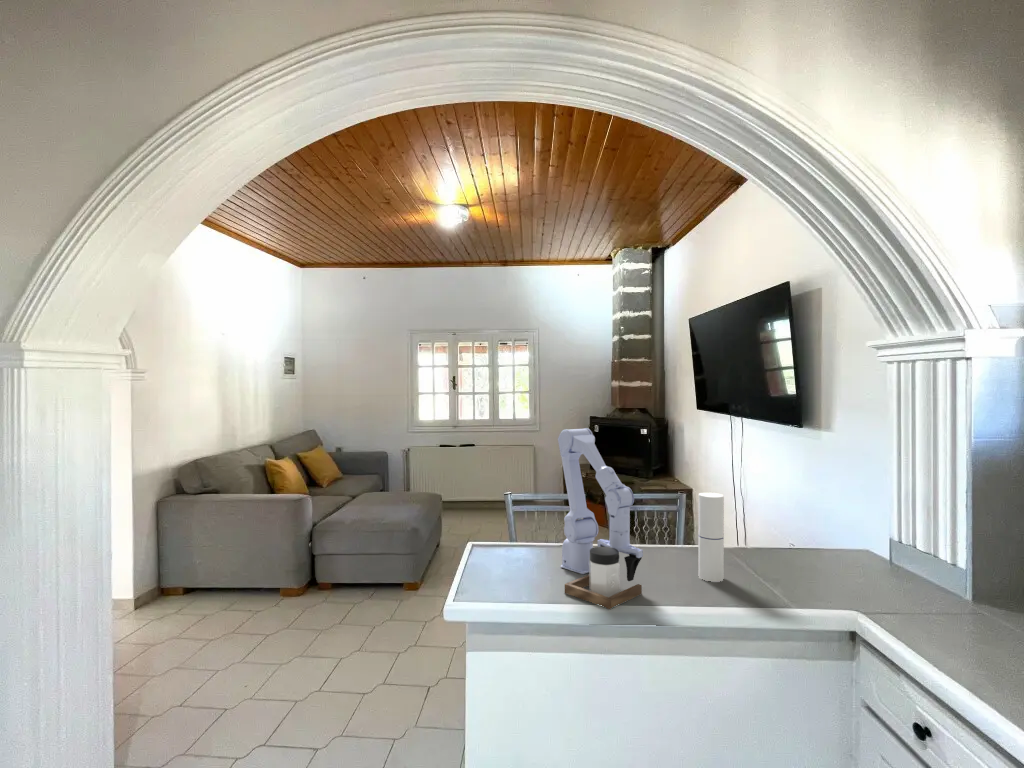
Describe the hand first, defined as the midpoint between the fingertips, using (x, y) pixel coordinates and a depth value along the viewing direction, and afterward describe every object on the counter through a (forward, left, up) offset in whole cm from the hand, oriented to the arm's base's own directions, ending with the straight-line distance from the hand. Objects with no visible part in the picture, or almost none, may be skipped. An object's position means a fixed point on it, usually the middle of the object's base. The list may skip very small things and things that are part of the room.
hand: (619, 576), depth 160 cm
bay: (0, -8, -3) cm, 8 cm away
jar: (0, -8, -3) cm, 8 cm away
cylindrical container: (+15, +25, -3) cm, 30 cm away
